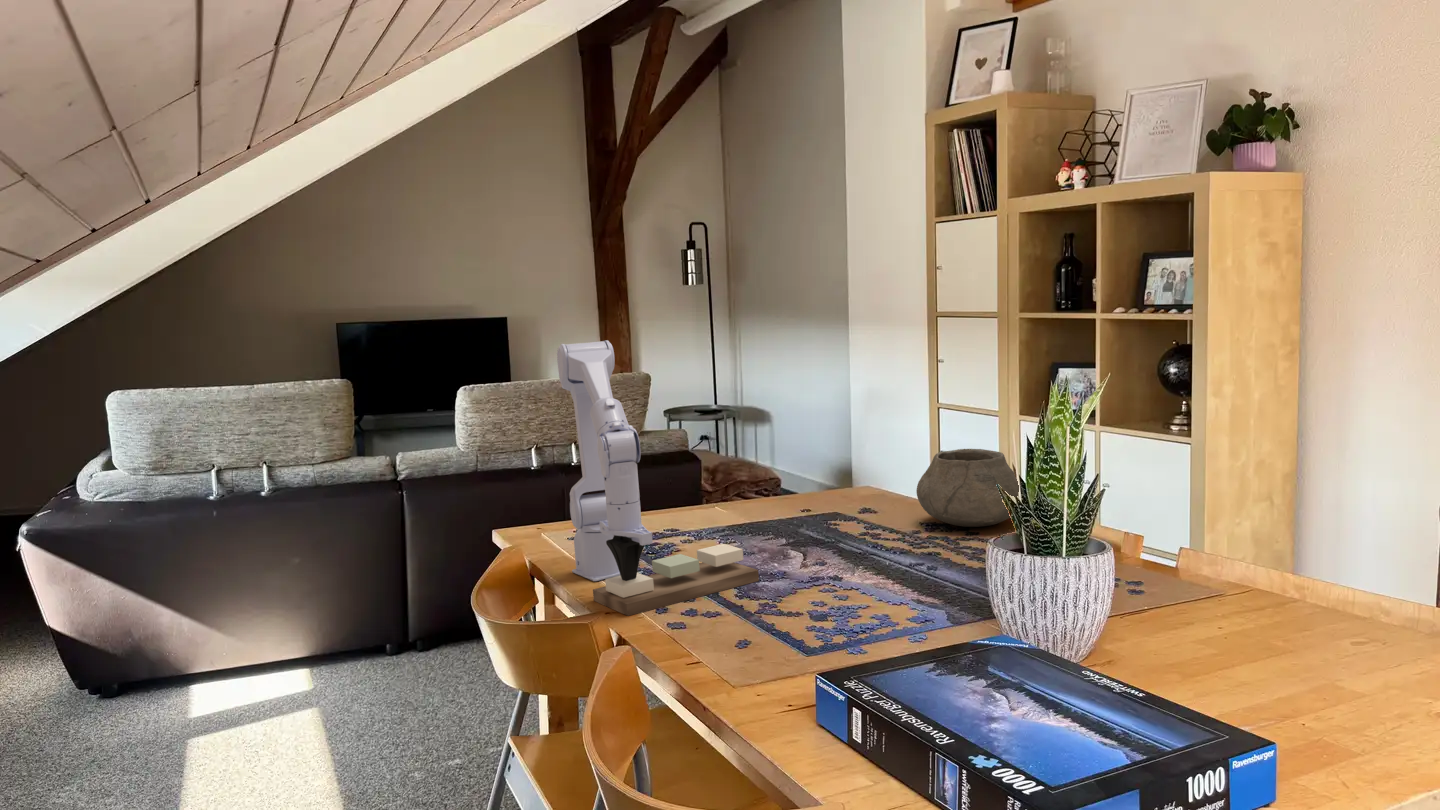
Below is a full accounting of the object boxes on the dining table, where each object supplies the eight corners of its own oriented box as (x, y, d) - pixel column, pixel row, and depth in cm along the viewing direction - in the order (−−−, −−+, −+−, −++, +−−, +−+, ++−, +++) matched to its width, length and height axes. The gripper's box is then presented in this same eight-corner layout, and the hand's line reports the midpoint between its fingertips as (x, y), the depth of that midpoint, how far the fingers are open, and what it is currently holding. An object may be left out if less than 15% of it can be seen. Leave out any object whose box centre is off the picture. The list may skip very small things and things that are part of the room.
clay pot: (1022, 512, 226) (1019, 443, 224) (1028, 536, 205) (1025, 461, 203) (920, 513, 231) (917, 446, 229) (915, 537, 210) (912, 464, 208)
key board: (593, 600, 181) (592, 589, 181) (720, 568, 196) (720, 558, 196) (628, 616, 171) (627, 604, 171) (759, 580, 187) (758, 569, 186)
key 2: (697, 560, 190) (696, 550, 189) (724, 554, 193) (723, 543, 193) (716, 566, 185) (715, 555, 184) (743, 559, 188) (742, 549, 188)
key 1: (606, 590, 179) (605, 579, 179) (636, 583, 182) (635, 571, 182) (623, 597, 174) (622, 586, 174) (653, 589, 178) (653, 578, 177)
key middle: (652, 571, 184) (651, 560, 184) (681, 564, 188) (680, 553, 187) (670, 578, 179) (669, 566, 179) (699, 570, 183) (698, 559, 183)
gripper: (582, 499, 180) (588, 576, 182) (623, 511, 168) (629, 592, 170) (617, 492, 184) (623, 567, 186) (660, 503, 172) (666, 583, 174)
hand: (629, 579), depth 178 cm, fingers closed, pressing on key 1
